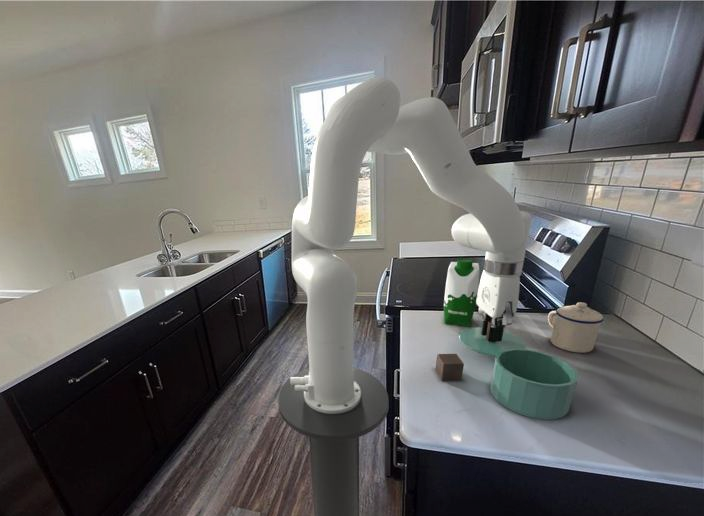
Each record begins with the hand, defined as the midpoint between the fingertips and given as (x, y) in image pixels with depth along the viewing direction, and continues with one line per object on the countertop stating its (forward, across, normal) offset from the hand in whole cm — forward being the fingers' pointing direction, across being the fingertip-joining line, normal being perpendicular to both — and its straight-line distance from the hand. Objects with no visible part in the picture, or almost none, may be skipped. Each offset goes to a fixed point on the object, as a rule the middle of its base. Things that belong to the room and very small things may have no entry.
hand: (491, 337), depth 79 cm
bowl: (+5, +17, 0) cm, 18 cm away
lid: (+1, 0, 0) cm, 1 cm away
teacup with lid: (+5, -5, +22) cm, 23 cm away
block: (+5, +9, -13) cm, 17 cm away
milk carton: (+5, -20, 0) cm, 21 cm away
